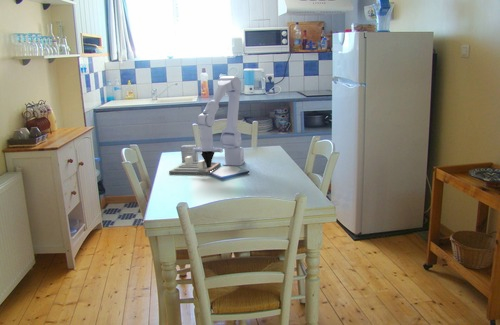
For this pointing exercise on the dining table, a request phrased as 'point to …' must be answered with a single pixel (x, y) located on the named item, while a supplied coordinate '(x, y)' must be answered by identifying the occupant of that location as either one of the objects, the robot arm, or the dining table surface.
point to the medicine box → (189, 152)
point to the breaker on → (188, 160)
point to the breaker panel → (193, 169)
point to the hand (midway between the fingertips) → (208, 166)
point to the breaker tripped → (201, 164)
